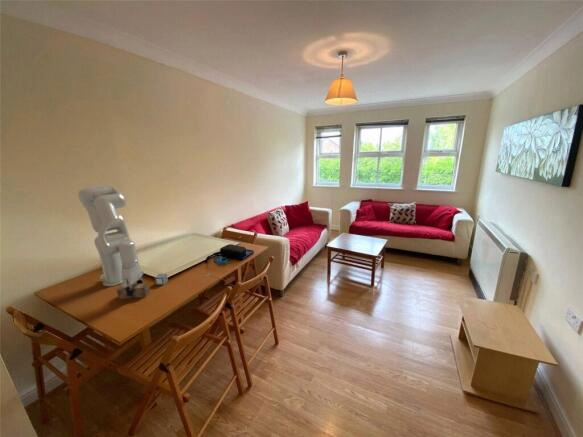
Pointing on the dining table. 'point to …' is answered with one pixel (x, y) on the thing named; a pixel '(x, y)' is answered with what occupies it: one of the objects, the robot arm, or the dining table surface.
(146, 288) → the walnut screen
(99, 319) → the dining table surface
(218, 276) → the dining table surface
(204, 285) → the dining table surface
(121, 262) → the robot arm
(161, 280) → the marked cube
